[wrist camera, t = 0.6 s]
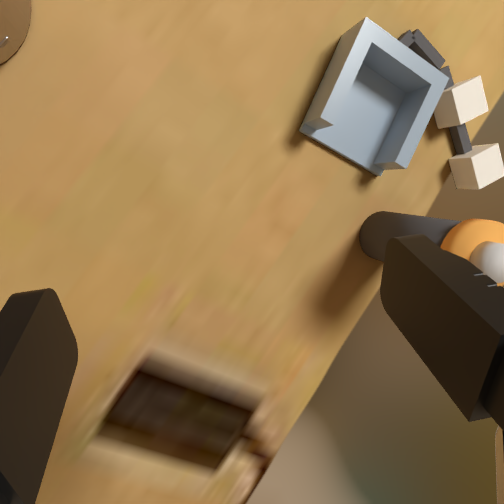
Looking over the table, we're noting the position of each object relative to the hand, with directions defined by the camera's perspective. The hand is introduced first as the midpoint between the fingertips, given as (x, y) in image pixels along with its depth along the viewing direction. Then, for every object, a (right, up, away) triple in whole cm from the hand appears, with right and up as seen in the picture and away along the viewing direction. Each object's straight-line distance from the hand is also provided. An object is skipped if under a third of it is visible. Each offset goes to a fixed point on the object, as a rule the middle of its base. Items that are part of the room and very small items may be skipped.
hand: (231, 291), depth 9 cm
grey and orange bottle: (+12, +3, +25) cm, 28 cm away
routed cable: (+17, +13, +24) cm, 32 cm away
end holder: (+10, +13, +22) cm, 28 cm away
